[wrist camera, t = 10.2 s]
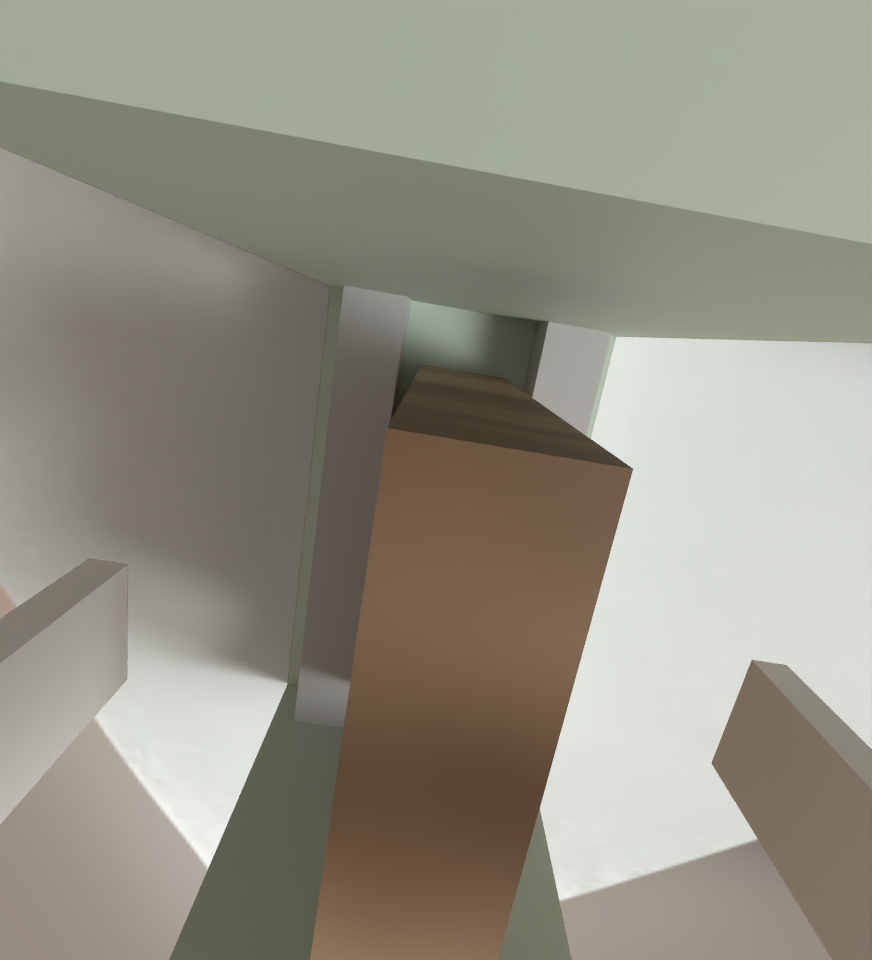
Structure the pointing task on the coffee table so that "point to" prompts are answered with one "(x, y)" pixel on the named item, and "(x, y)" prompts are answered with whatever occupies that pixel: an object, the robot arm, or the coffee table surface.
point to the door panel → (461, 666)
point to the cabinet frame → (457, 259)
